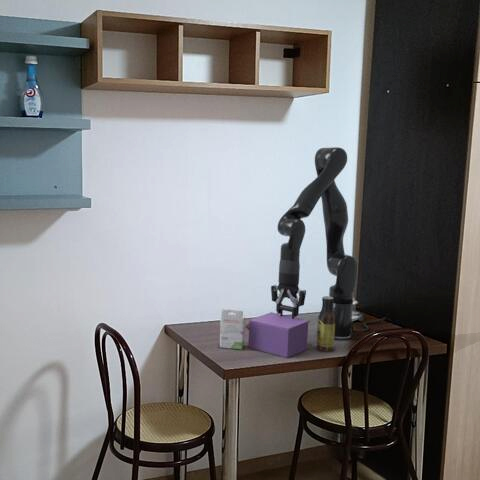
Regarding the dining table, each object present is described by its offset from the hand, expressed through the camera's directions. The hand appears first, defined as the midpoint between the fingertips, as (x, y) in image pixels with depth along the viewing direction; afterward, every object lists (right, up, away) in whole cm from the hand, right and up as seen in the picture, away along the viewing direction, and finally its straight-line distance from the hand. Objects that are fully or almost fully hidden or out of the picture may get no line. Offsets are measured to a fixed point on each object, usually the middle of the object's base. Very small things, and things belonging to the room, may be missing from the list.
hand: (287, 314), depth 242 cm
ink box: (-21, -12, -2) cm, 24 cm away
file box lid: (-4, -2, -4) cm, 6 cm away
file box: (-4, -12, -3) cm, 13 cm away
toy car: (+33, -7, +39) cm, 52 cm away
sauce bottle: (+14, -13, -2) cm, 19 cm away
